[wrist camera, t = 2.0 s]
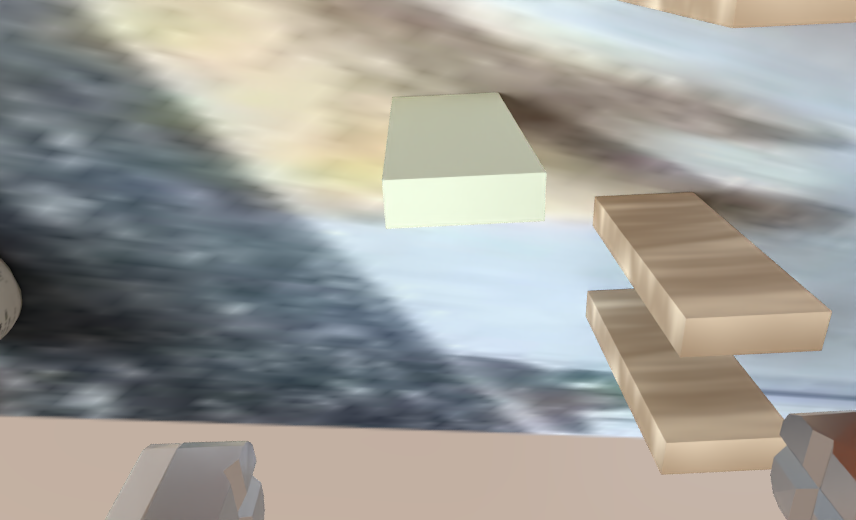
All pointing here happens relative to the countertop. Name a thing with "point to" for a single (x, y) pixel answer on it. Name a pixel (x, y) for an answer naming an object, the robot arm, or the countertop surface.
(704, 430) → the domino
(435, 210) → the domino
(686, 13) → the domino
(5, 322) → the spray can
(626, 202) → the brown wooden flat block
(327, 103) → the countertop surface
